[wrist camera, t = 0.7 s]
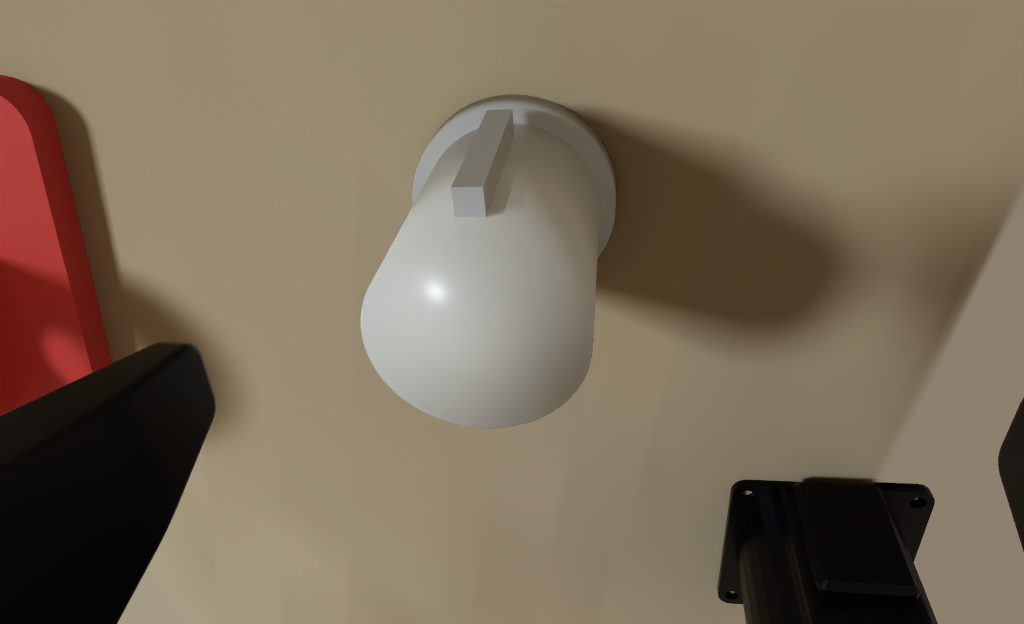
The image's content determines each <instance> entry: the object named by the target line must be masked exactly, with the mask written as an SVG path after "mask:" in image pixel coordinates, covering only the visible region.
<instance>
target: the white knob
mask: <svg viewBox="0 0 1024 624" xmlns="http://www.w3.org/2000/svg"><path fill="white" fill-rule="evenodd" d="M412 199H413V207H412V209H411V211H410V213H409V214H408V216H407V218H406V220H405V222H404V224H403V225H402V227H401V229H400V231H399V233H398V235H397V236H396V238H395V240H394V242H393V244H392V246H391V247H390V249H389V251H388V253H387V255H386V257H385V258H384V260H383V262H382V264H381V266H380V268H379V269H378V271H377V273H376V275H375V277H374V279H373V280H372V282H371V284H370V286H369V288H368V290H367V292H366V295H365V298H364V301H363V305H362V311H361V332H362V339H363V342H364V346H365V349H366V352H367V354H368V356H369V358H370V361H371V363H372V364H373V366H374V367H375V369H376V371H377V372H378V374H379V375H380V376H381V378H382V379H383V380H384V381H385V383H386V384H387V385H388V386H389V387H390V388H391V389H392V390H393V391H394V392H395V393H396V394H398V395H399V396H400V397H401V398H403V399H404V400H405V401H406V402H408V403H409V404H411V405H413V406H414V407H416V408H417V409H419V410H421V411H423V412H425V413H427V414H429V415H431V416H433V417H436V418H438V419H441V420H444V421H447V422H450V423H454V424H457V425H463V426H468V427H477V428H504V427H512V426H517V425H521V424H526V423H529V422H531V421H534V420H537V419H540V418H542V417H544V416H546V415H548V414H550V413H551V412H553V411H554V410H556V409H557V408H559V407H560V406H562V405H563V404H564V403H565V402H566V401H567V400H568V399H570V398H571V396H572V395H573V394H574V393H575V392H576V391H577V389H578V388H579V386H580V385H581V383H582V382H583V380H584V378H585V376H586V374H587V371H588V369H589V366H590V362H591V357H592V348H593V332H594V313H595V295H596V276H597V258H598V257H599V256H600V255H601V253H602V252H603V250H604V248H605V246H606V245H607V243H608V240H609V238H610V235H611V233H612V229H613V225H614V221H615V211H616V183H615V175H614V170H613V166H612V163H611V161H610V158H609V155H608V153H607V151H606V149H605V147H604V145H603V143H602V142H601V141H600V139H599V138H598V136H597V135H596V134H595V132H594V131H593V130H592V129H591V128H590V127H589V126H588V125H587V124H586V123H585V122H584V121H583V120H581V119H580V118H579V117H578V116H577V115H575V114H574V113H572V112H571V111H569V110H567V109H566V108H564V107H562V106H560V105H558V104H556V103H553V102H551V101H548V100H545V99H541V98H538V97H532V96H526V95H501V96H494V97H490V98H486V99H482V100H480V101H477V102H475V103H472V104H470V105H468V106H466V107H465V108H463V109H461V110H459V111H458V112H457V113H455V114H454V115H453V116H451V117H450V118H449V119H448V120H447V121H446V122H445V123H444V124H443V125H442V126H441V127H440V129H439V130H438V131H437V133H436V134H435V135H434V137H433V138H432V140H431V142H430V143H429V145H428V147H427V148H426V150H425V152H424V154H423V156H422V158H421V159H420V161H419V164H418V167H417V170H416V173H415V177H414V182H413V194H412Z"/></svg>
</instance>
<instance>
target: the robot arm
mask: <svg viewBox="0 0 1024 624" xmlns="http://www.w3.org/2000/svg"><path fill="white" fill-rule="evenodd" d="M214 414H215V397H214V393H213V390H212V387H211V384H210V381H209V378H208V375H207V372H206V368H205V365H204V362H203V359H202V356H201V354H200V351H199V350H198V349H197V347H196V346H194V345H192V344H190V343H177V342H158V343H155V344H153V345H151V346H148V347H146V348H144V349H142V350H140V351H138V352H136V353H133V354H131V355H129V356H127V357H125V358H123V359H121V360H118V361H116V362H114V363H112V364H110V365H108V366H105V367H103V368H101V369H99V370H97V371H95V372H93V373H90V374H88V375H86V376H84V377H82V378H80V379H78V380H75V381H73V382H71V383H69V384H67V385H65V386H62V387H60V388H58V389H56V390H54V391H52V392H50V393H47V394H45V395H43V396H41V397H39V398H37V399H35V400H32V401H30V402H28V403H26V404H24V405H22V406H19V407H17V408H15V409H13V410H11V411H9V412H7V413H4V414H2V415H0V624H117V623H118V621H119V619H120V617H121V615H122V614H123V612H124V610H125V608H126V606H127V604H128V602H129V601H130V599H131V597H132V595H133V593H134V591H135V589H136V588H137V586H138V584H139V582H140V580H141V578H142V577H143V575H144V573H145V571H146V569H147V567H148V565H149V564H150V562H151V560H152V558H153V556H154V554H155V552H156V551H157V549H158V547H159V545H160V543H161V541H162V539H163V537H164V535H165V533H166V531H167V529H168V527H169V524H170V522H171V520H172V518H173V515H174V513H175V511H176V509H177V506H178V504H179V501H180V499H181V496H182V494H183V492H184V489H185V487H186V484H187V482H188V479H189V477H190V474H191V472H192V470H193V467H194V465H195V462H196V460H197V457H198V455H199V453H200V450H201V448H202V445H203V443H204V440H205V438H206V435H207V433H208V431H209V428H210V426H211V423H212V421H213V418H214ZM998 466H999V472H1000V476H1001V479H1002V483H1003V486H1004V490H1005V493H1006V496H1007V499H1008V502H1009V506H1010V509H1011V512H1012V515H1013V519H1014V522H1015V525H1016V528H1017V531H1018V535H1019V538H1020V541H1021V544H1022V547H1023V551H1024V398H1023V400H1022V402H1021V403H1020V405H1019V408H1018V410H1017V412H1016V415H1015V417H1014V419H1013V421H1012V424H1011V426H1010V428H1009V430H1008V432H1007V435H1006V437H1005V439H1004V441H1003V444H1002V446H1001V449H1000V452H999V457H998ZM747 490H748V491H752V493H751V494H749V495H742V494H740V493H741V492H743V491H747ZM916 498H918V499H916ZM934 502H935V500H934V498H933V496H932V493H931V492H930V490H929V488H928V487H926V486H925V485H922V484H911V483H887V482H875V483H874V485H862V484H838V483H814V482H789V481H765V480H741V481H738V482H736V483H735V484H734V485H733V486H732V488H731V493H730V500H729V508H728V515H727V522H726V530H725V537H724V544H723V552H722V559H721V566H720V574H719V581H718V588H717V589H718V596H719V598H720V599H721V600H722V601H724V602H726V603H734V604H743V606H744V612H745V618H746V624H938V623H937V621H936V618H935V616H934V613H933V611H932V608H931V606H930V603H929V601H928V598H927V596H926V593H925V590H924V588H923V585H922V583H921V581H920V578H919V576H918V573H917V570H916V568H915V565H914V563H913V562H914V559H915V557H916V554H917V551H918V548H919V545H920V543H921V540H922V537H923V534H924V531H925V529H926V526H927V523H928V520H929V517H930V515H931V512H932V509H933V506H934ZM728 591H734V592H735V593H731V594H730V593H726V592H728Z"/></svg>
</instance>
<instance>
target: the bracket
mask: <svg viewBox="0 0 1024 624" xmlns="http://www.w3.org/2000/svg"><path fill="white" fill-rule="evenodd" d="M110 364H112V362H111V357H110V353H109V349H108V345H107V340H106V336H105V332H104V328H103V323H102V319H101V315H100V311H99V306H98V302H97V298H96V294H95V289H94V285H93V281H92V276H91V272H90V268H89V264H88V259H87V255H86V251H85V247H84V242H83V238H82V234H81V230H80V225H79V221H78V217H77V213H76V208H75V204H74V200H73V196H72V191H71V187H70V183H69V179H68V174H67V170H66V166H65V161H64V157H63V153H62V149H61V144H60V140H59V136H58V132H57V127H56V123H55V120H54V117H53V114H52V112H51V110H50V108H49V107H48V105H47V104H46V102H45V101H44V100H43V98H42V97H41V96H40V95H39V94H38V93H37V92H36V91H35V90H34V89H32V88H31V87H30V86H28V85H27V84H25V83H24V82H22V81H20V80H18V79H15V78H12V77H9V76H3V75H0V415H2V414H4V413H7V412H9V411H11V410H13V409H15V408H17V407H19V406H22V405H24V404H26V403H28V402H30V401H32V400H35V399H37V398H39V397H41V396H43V395H45V394H47V393H50V392H52V391H54V390H56V389H58V388H60V387H62V386H65V385H67V384H69V383H71V382H73V381H75V380H78V379H80V378H82V377H84V376H86V375H88V374H90V373H93V372H95V371H97V370H99V369H101V368H103V367H105V366H108V365H110Z"/></svg>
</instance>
